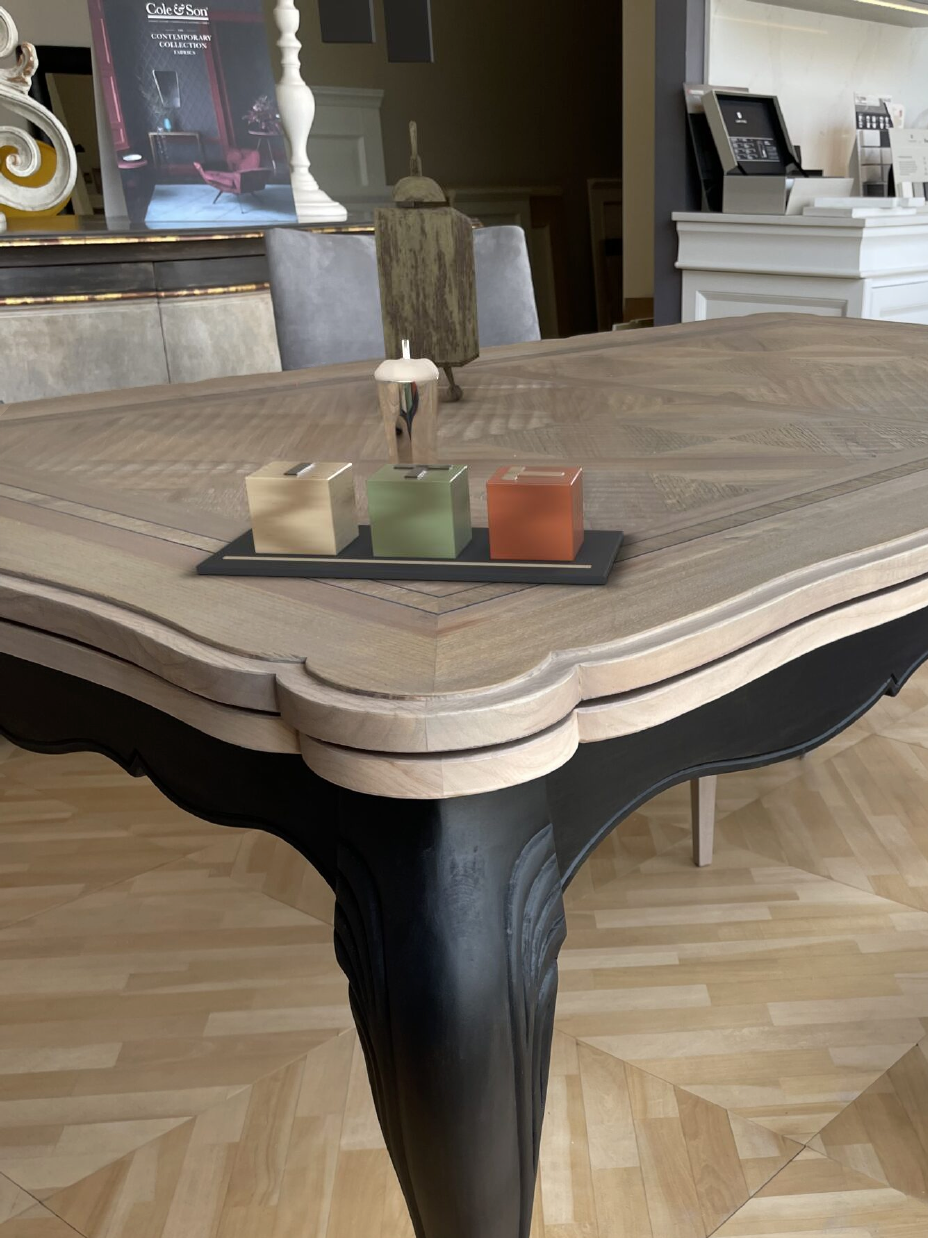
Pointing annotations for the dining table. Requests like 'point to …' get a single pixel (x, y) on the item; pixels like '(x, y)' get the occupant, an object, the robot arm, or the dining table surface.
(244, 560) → the word mat
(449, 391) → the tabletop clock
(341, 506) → the slotted beige cube
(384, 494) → the frosted jade cube
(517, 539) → the copper orange cube
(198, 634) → the dining table surface
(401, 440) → the milkshake
